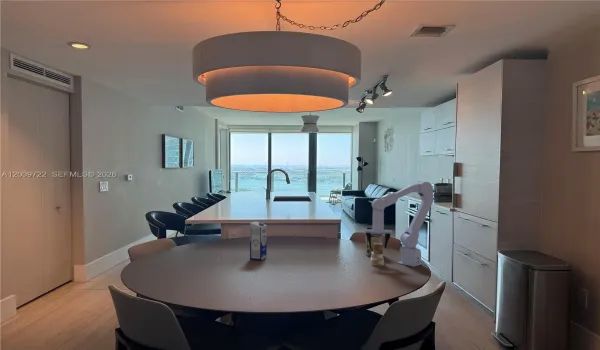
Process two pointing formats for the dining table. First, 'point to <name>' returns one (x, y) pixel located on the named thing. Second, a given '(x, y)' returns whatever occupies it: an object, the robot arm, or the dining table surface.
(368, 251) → the coffee box
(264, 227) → the milk carton
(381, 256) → the top block
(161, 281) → the dining table surface
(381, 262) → the base block
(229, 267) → the dining table surface
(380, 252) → the walnut block
